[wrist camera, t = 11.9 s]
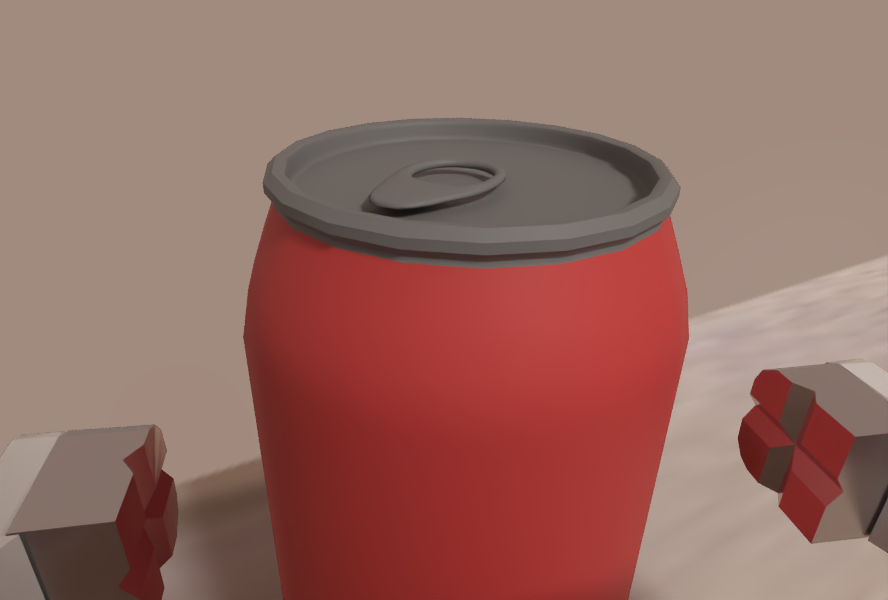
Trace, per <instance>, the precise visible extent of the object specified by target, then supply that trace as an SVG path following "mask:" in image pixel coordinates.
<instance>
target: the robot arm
mask: <svg viewBox="0 0 888 600" xmlns="http://www.w3.org/2000/svg"><path fill="white" fill-rule="evenodd" d="M750 395H751V397H752V399H753V401H754V403H755V405H756V406H755V407H754V408H753V409H752V410H751V411H750V412H749V413H748V414H747V415H746V416H745V417H744V418H743V419H742V423H741V427H740V431H739V435H738V442H739V448H740V455H741V458H742V460H743V462H744V464H745V466H746V468H747V470H748V471H749V472H750V473H751V475H752V476H753V477H754V478H755V479H756V481H757V482H758V483H760V484H762V485H763V486H765V487H767V488H769V489H771V490H773V491H775V492H777V493H778V505H779V507H780V509H781V510H782V511H783V512H784V513H785V514H786V515H787V517H788V518H789V519H790V520H791V521H792V522H793V523H794V525H795V526H796V527H797V528H798V529H799V530H800V531H801V533H802V534H803V535H804V536H805V537H806V538H807V539H808V541H809V542H810V543H811V544H813V543H822V542H830V541H839V540H848V539H857V538H866V537H869V539H868V541H870V542H871V543H873V544H874V545H876V546H878V547H879V548H881V549H882V550H884V551H886V552H887V553H888V373H887V372H885V371H884V370H882V369H881V368H879V367H878V366H877V365H875V364H874V363H872V362H869V361H865V360H861V359H852V360H844V361H835V362H827V363H825V364H819V365H809V366H798V367H788V368H777V369H767V370H762V372H761V373H760V374H759V375H758V376H757V377H756V378H755V380H754V383H753V386H752V389H751V393H750ZM166 452H167V450H166V446H165V442H164V439H163V435H162V432H161V429H160V428H158V427H157V426H156V425H142V426H127V427H113V428H100V429H84V430H71V431H67V432H63V431H60V432H48V433H36V434H24V435H21V436H19V437H17V438H15V439H13V440H12V441H11V442H10V443H9V444H8V446H7V447H6V449H5V450H4V452H3V453H2V455H1V456H0V600H161V599H162V595H163V591H164V584H163V580H162V576H161V572H160V569H159V568H160V567H161V566H162V565H163V564H164V563H165V562H166V561H167V560H168V559H169V558H171V557H172V555H173V550H174V546H175V541H176V537H177V525H178V502H177V493H176V488H175V484H174V479H173V478H172V477H171V476H169V475H168V474H166V473H165V472H164V471H163V470H161V469H162V465H163V462H164V459H165V455H166Z"/></svg>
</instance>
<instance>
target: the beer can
mask: <svg viewBox="0 0 888 600" xmlns="http://www.w3.org/2000/svg"><path fill="white" fill-rule="evenodd" d="M263 188H264V193H265V194H266V195H267V197H268V198H269V199H270V200H271V201H272V202H271V206H270V209H269V212H268V215H267V218H266V221H265V225H264V228H263V232H262V235H261V239H260V243H259V246H258V250H257V253H256V257H255V260H254V265H253V270H252V274H251V279H250V284H249V289H248V297H247V307H246V316H245V326H244V336H243V338H244V344H245V351H246V357H247V364H248V370H249V377H250V383H251V390H252V397H253V403H254V410H255V416H256V423H257V429H258V436H259V443H260V449H261V456H262V462H263V469H264V475H265V482H266V488H267V495H268V502H269V508H270V515H271V521H272V528H273V534H274V541H275V547H276V554H277V561H278V567H279V574H280V580H281V587H282V593H283V600H628V598H629V593H630V589H631V585H632V581H633V576H634V572H635V568H636V563H637V559H638V555H639V550H640V546H641V542H642V538H643V533H644V529H645V525H646V520H647V516H648V512H649V507H650V503H651V499H652V495H653V490H654V486H655V482H656V477H657V473H658V469H659V465H660V460H661V456H662V452H663V447H664V443H665V439H666V434H667V430H668V426H669V422H670V417H671V413H672V409H673V404H674V400H675V396H676V392H677V387H678V383H679V379H680V374H681V370H682V366H683V361H684V357H685V353H686V349H687V344H688V340H689V329H688V297H687V288H686V283H685V279H684V274H683V269H682V264H681V260H680V255H679V250H678V247H677V242H676V238H675V234H674V230H673V225H672V222H671V217H670V214H671V212H672V210H673V208H674V206H675V204H676V202H677V199H678V197H679V193H680V188H681V187H680V185H679V184H678V182H677V181H676V179H675V178H674V177H673V175H672V173H671V172H670V170H669V169H668V167H667V166H666V165H665V164H664V163H663V162H662V160H660V159H658V158H656V157H655V156H653V155H651V154H649V153H647V152H645V151H644V150H642V149H640V148H638V147H636V146H634V145H631V144H628V143H625V142H622V141H618V140H616V139H612V138H609V137H606V136H603V135H600V134H596V133H591V132H586V131H580V130H575V129H570V128H565V127H560V126H555V125H546V124H538V123H529V122H520V121H511V120H494V119H492V120H491V119H472V118H435V119H408V120H397V121H386V122H376V123H367V124H361V125H356V126H351V127H345V128H340V129H334V130H329V131H326V132H323V133H320V134H317V135H314V136H311V137H308V138H305V139H302V140H299V141H296V142H295V143H293V144H292V145H290V146H289V147H287V148H286V149H284V150H283V151H281V152H280V153H279V154H277V155H276V156H275V157H274V158H273V159H272V160H271V161H270V162H269V163H268V164H267V168H266V172H265V176H264V180H263Z"/></svg>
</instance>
